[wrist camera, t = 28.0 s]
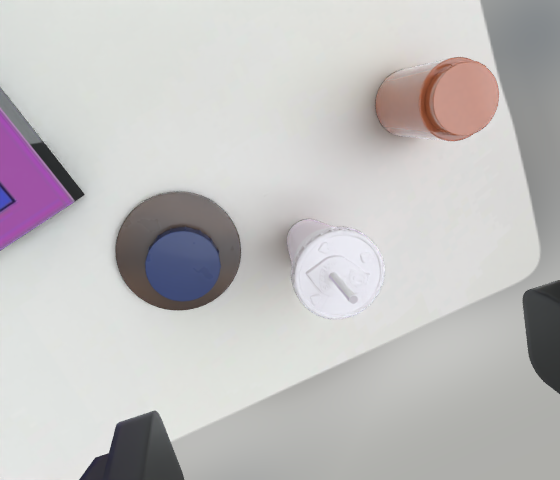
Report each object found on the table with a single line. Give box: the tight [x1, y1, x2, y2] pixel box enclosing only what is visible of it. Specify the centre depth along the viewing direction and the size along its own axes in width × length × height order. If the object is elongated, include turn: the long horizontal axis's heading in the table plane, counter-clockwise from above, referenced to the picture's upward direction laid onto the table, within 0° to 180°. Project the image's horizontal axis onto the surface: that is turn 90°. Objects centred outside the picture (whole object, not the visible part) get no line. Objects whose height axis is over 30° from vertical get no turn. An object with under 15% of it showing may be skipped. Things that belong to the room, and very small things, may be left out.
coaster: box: [116, 191, 241, 310], centre depth 39 cm, size 10×10×1 cm
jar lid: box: [145, 226, 221, 301], centre depth 38 cm, size 6×6×2 cm
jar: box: [376, 57, 499, 141], centre depth 35 cm, size 5×5×9 cm
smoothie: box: [287, 219, 385, 319], centre depth 34 cm, size 6×6×14 cm
